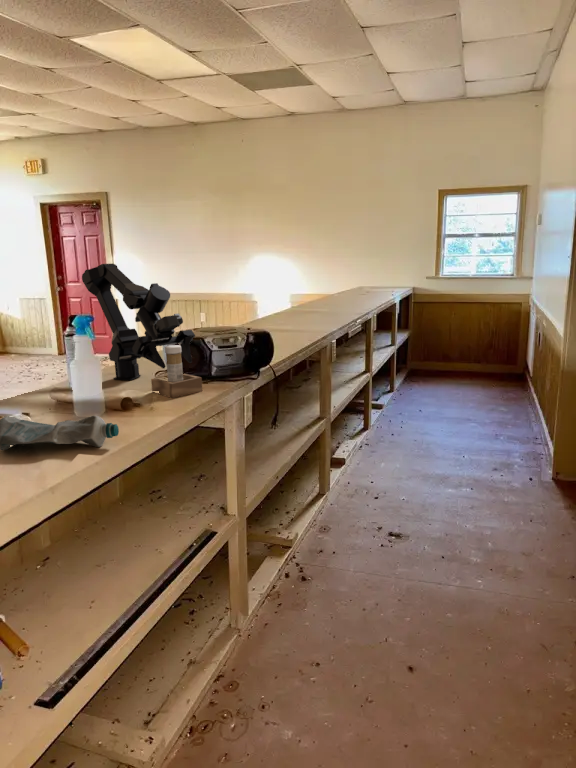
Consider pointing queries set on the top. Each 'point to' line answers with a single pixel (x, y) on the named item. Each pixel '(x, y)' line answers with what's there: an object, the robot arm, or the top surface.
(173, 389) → the cradle
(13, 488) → the top surface
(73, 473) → the top surface
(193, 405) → the top surface
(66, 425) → the crushed plastic bottle
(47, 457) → the top surface
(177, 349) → the sprinkles bottle
